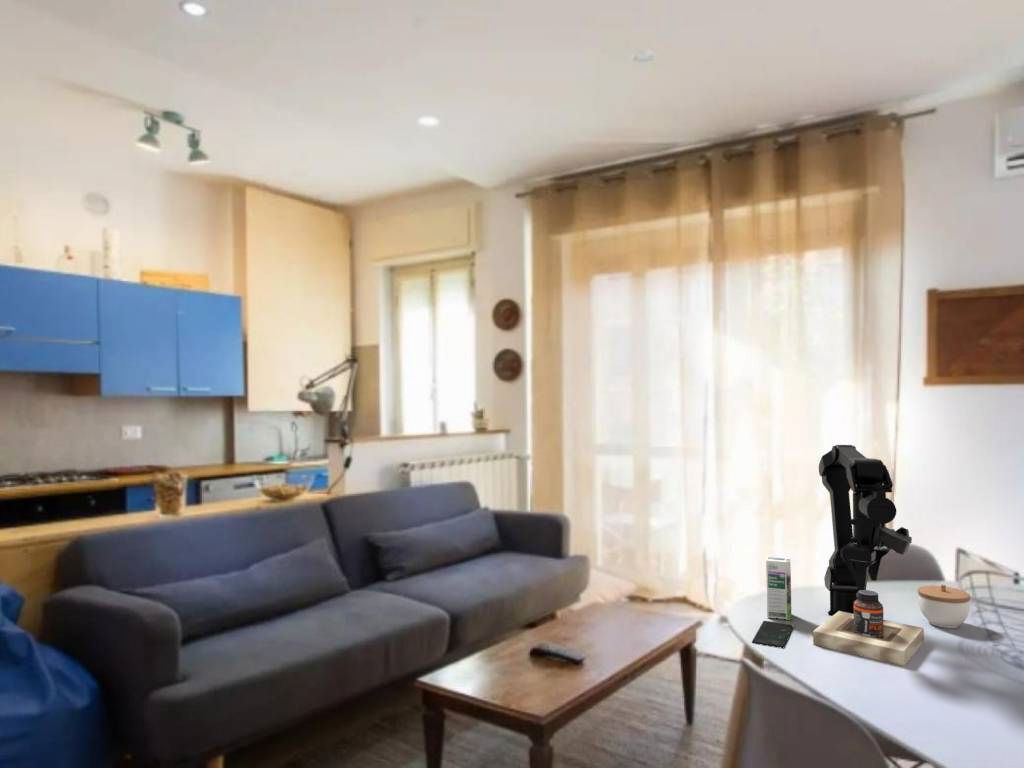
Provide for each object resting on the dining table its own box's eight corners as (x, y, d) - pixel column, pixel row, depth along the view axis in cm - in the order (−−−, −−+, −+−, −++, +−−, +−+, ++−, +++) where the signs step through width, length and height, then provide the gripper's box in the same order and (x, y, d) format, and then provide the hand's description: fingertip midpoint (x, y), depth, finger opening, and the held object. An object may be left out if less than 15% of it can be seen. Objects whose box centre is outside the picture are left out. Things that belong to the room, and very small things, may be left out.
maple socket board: (813, 644, 152) (813, 630, 152) (839, 623, 165) (838, 610, 165) (903, 665, 140) (903, 651, 140) (924, 641, 153) (923, 627, 153)
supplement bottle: (872, 649, 149) (871, 597, 149) (848, 640, 154) (847, 590, 154) (889, 644, 151) (888, 593, 151) (865, 636, 157) (864, 586, 157)
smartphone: (751, 641, 153) (763, 620, 166) (751, 645, 153) (763, 624, 166) (783, 646, 150) (793, 624, 163) (784, 651, 150) (793, 628, 163)
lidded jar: (917, 613, 171) (917, 576, 171) (968, 620, 166) (968, 582, 166) (918, 627, 162) (917, 587, 162) (972, 634, 157) (971, 594, 157)
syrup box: (766, 618, 169) (765, 560, 169) (767, 611, 175) (766, 554, 175) (791, 621, 167) (790, 562, 167) (791, 613, 173) (790, 556, 173)
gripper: (896, 526, 140) (897, 602, 140) (917, 513, 154) (918, 582, 154) (839, 519, 148) (840, 591, 148) (864, 508, 162) (865, 573, 162)
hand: (868, 584), depth 153 cm, fingers open, 9 cm apart
